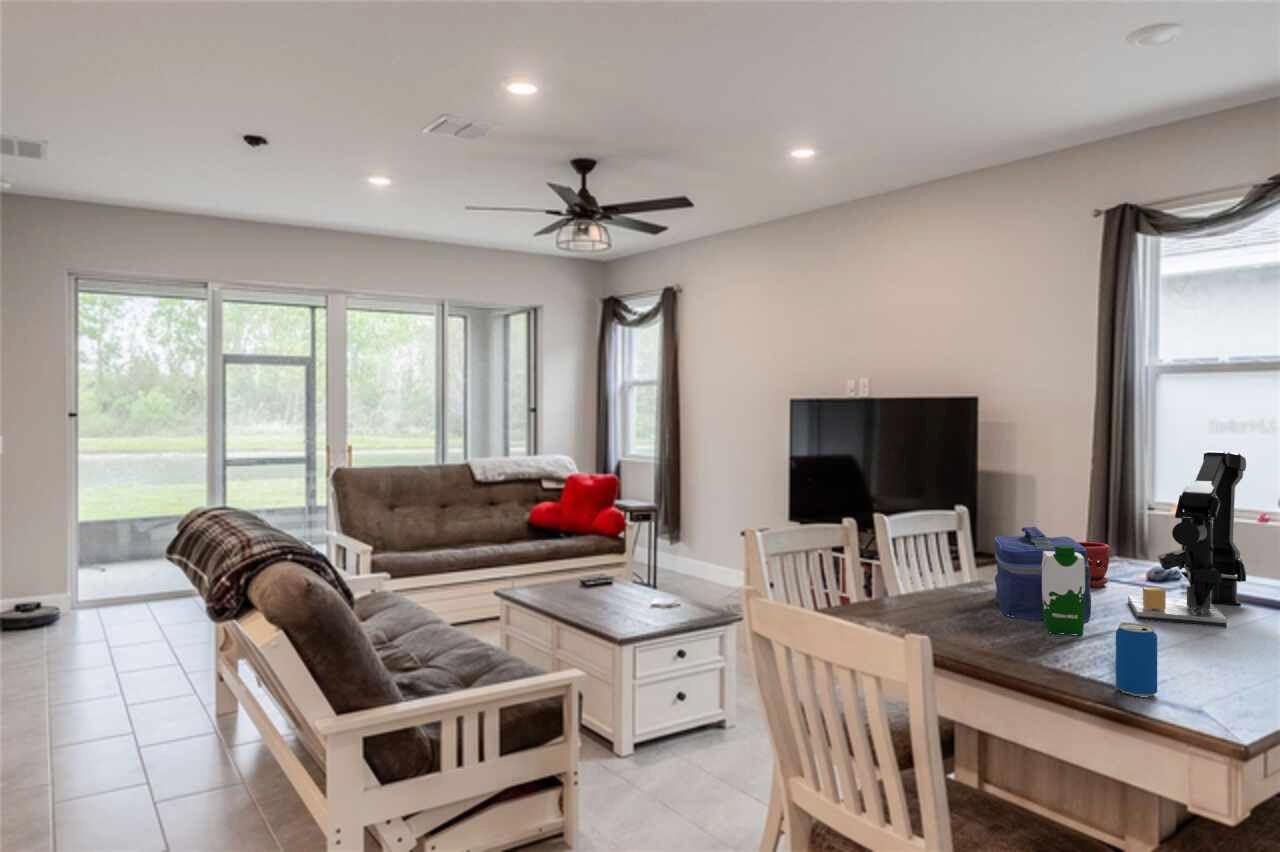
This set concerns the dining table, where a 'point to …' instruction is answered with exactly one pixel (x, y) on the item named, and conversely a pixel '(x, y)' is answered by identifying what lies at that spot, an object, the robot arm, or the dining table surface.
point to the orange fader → (1154, 598)
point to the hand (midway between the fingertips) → (1198, 604)
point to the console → (1177, 612)
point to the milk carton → (1063, 590)
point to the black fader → (1192, 600)
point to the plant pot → (1097, 568)
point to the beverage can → (1136, 659)
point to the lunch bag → (1029, 572)
